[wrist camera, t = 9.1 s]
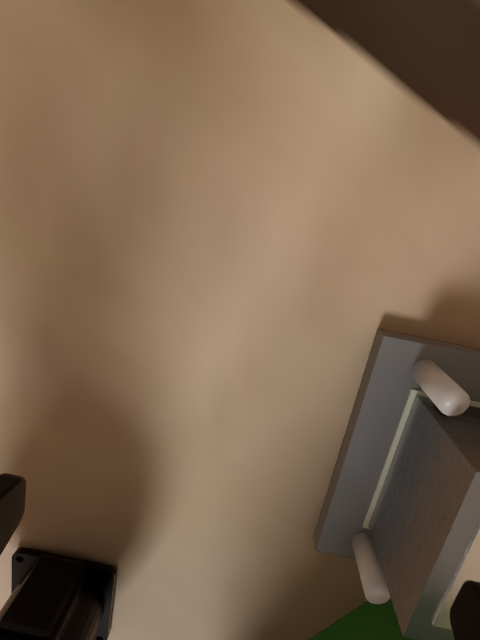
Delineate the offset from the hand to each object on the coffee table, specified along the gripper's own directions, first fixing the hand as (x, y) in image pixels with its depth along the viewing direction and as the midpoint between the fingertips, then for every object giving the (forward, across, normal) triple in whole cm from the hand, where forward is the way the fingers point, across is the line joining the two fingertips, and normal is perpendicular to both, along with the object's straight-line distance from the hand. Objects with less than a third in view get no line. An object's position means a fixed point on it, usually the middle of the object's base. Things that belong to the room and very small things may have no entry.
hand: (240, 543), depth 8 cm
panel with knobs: (+12, -10, +4) cm, 16 cm away
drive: (+11, -10, +4) cm, 16 cm away
